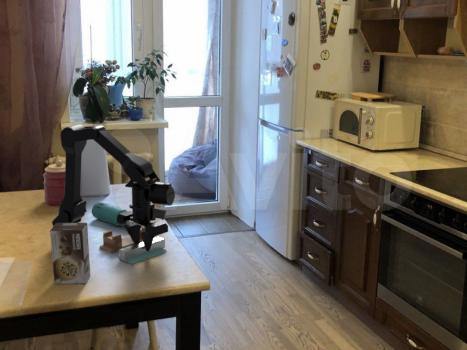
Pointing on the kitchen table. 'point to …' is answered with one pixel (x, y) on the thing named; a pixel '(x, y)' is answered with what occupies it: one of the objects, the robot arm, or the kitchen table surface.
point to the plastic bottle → (94, 171)
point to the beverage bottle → (107, 212)
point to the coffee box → (70, 253)
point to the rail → (140, 249)
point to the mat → (146, 256)
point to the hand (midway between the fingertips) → (142, 248)
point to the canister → (54, 183)
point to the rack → (117, 241)
